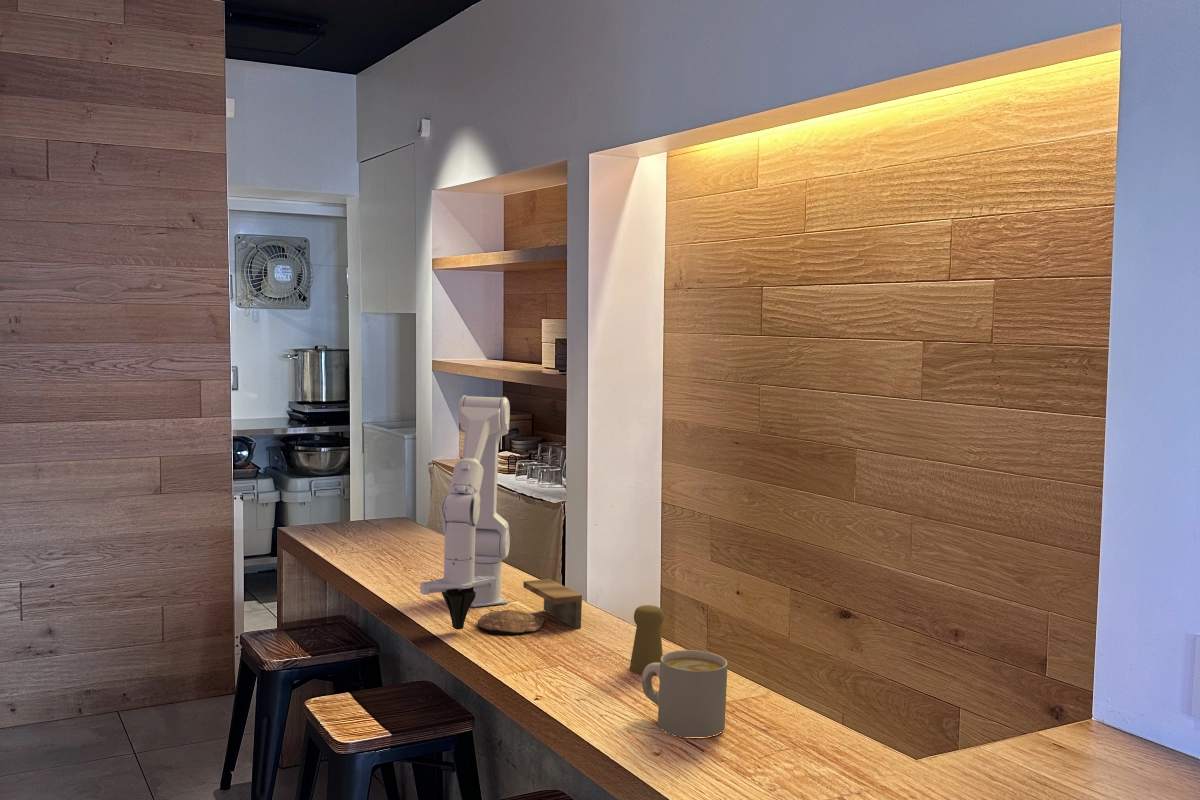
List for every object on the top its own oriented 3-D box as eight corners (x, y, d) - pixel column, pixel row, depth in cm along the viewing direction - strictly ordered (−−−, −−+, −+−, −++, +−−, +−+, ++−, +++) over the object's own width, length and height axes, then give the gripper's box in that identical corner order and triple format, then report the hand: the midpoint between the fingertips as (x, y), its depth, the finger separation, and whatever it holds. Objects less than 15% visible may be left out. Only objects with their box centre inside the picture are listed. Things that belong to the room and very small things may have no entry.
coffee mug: (738, 727, 156) (741, 661, 155) (695, 745, 148) (698, 676, 148) (670, 702, 165) (672, 640, 164) (627, 717, 158) (629, 653, 157)
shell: (537, 639, 196) (537, 621, 196) (470, 635, 198) (471, 617, 197) (546, 622, 208) (546, 605, 208) (483, 618, 209) (483, 601, 209)
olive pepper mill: (622, 667, 181) (624, 605, 180) (647, 661, 185) (650, 600, 184) (645, 677, 176) (648, 613, 176) (671, 670, 180) (674, 608, 179)
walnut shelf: (522, 612, 213) (523, 581, 212) (548, 609, 216) (549, 578, 215) (553, 631, 201) (554, 598, 200) (580, 628, 204) (582, 595, 203)
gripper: (430, 564, 189) (428, 638, 190) (503, 558, 197) (501, 629, 198) (417, 556, 196) (415, 627, 197) (488, 550, 203) (486, 619, 204)
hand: (457, 627), depth 197 cm, fingers closed
